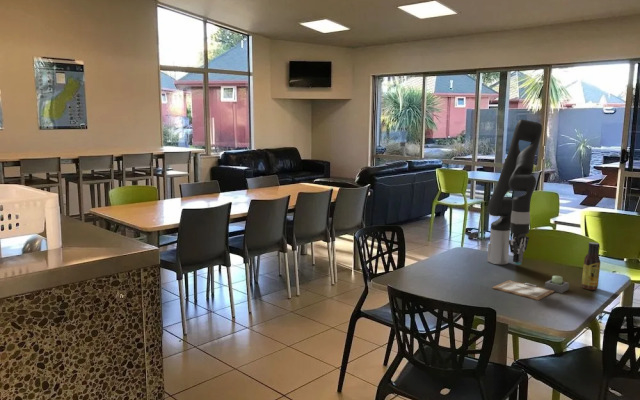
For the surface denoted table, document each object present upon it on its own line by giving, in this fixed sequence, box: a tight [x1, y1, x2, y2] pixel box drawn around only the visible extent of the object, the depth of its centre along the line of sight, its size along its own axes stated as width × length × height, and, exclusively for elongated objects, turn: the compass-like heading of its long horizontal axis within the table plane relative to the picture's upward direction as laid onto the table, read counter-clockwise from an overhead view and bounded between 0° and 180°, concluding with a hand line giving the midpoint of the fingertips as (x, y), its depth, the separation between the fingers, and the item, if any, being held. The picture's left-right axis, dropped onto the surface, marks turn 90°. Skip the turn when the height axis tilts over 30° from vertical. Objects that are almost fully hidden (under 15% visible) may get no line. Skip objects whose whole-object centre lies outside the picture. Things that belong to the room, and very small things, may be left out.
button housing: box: [544, 278, 570, 294], centre depth 220 cm, size 7×7×3 cm
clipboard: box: [491, 279, 555, 301], centre depth 218 cm, size 20×15×1 cm
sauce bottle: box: [581, 241, 601, 291], centre depth 220 cm, size 6×6×20 cm
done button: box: [551, 275, 564, 285], centre depth 219 cm, size 4×4×4 cm
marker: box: [514, 244, 524, 266], centre depth 220 cm, size 3×3×9 cm
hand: (517, 261), depth 221 cm, fingers closed on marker, 3 cm apart
